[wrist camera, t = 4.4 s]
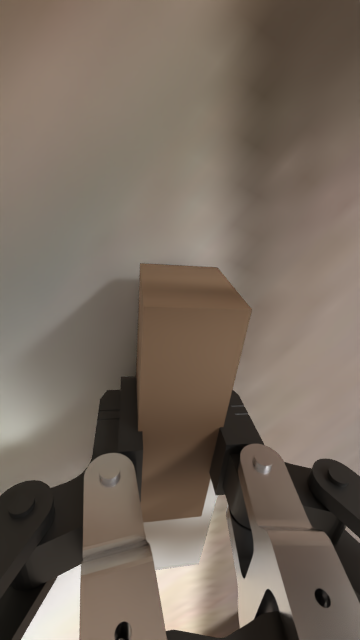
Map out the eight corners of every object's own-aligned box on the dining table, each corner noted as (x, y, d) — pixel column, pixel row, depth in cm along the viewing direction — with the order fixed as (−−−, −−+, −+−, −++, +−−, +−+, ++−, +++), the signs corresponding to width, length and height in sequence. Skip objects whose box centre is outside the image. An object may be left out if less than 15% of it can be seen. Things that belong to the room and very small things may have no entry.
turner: (85, 260, 9) (64, 304, 6) (264, 269, 10) (315, 311, 7) (101, 557, 18) (96, 630, 15) (195, 545, 19) (206, 611, 16)
